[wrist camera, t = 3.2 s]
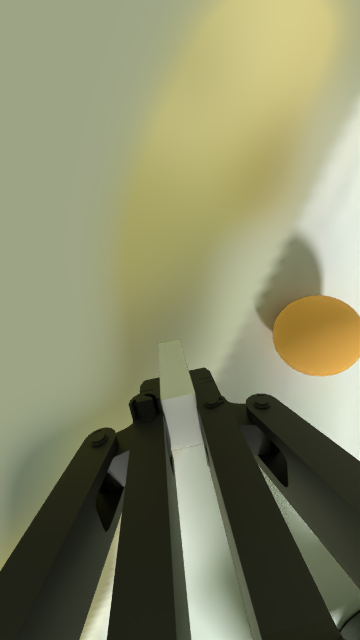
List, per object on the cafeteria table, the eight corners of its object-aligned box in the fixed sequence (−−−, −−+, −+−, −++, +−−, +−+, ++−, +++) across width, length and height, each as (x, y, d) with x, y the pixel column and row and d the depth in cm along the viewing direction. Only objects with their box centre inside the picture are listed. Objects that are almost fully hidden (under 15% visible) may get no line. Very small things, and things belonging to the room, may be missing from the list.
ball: (325, 348, 20) (386, 382, 15) (262, 361, 20) (301, 401, 15) (326, 283, 18) (394, 296, 13) (257, 296, 18) (299, 315, 13)
